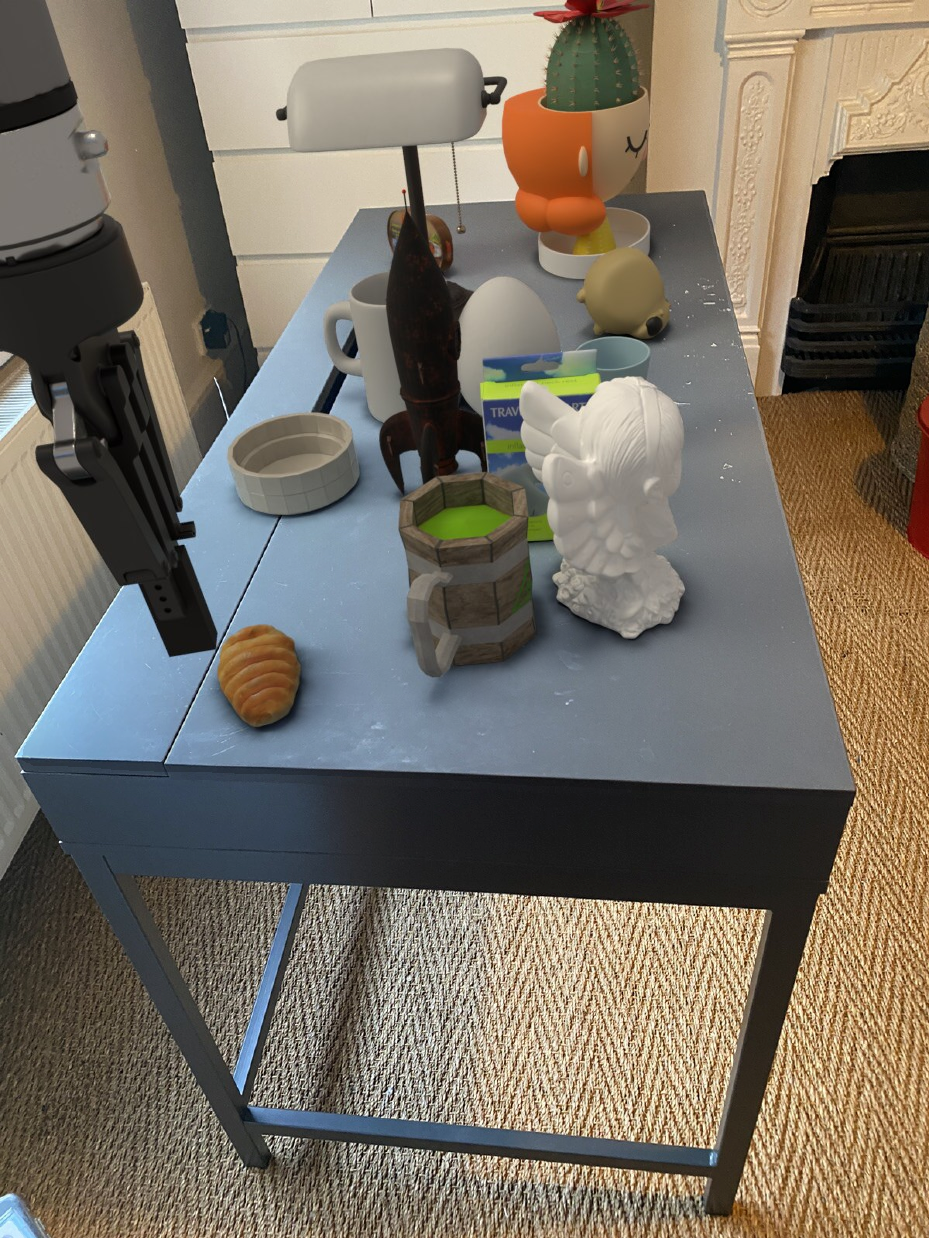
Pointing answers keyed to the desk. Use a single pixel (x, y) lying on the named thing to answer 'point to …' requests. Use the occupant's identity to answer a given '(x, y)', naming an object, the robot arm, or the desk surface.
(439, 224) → the tin
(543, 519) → the box
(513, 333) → the decorative egg
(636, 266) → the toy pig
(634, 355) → the cup
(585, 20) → the potted cactus
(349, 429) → the bowl
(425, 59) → the lamp
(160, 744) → the desk surface
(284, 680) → the pastry
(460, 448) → the toy rocket
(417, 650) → the mug
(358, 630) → the desk surface
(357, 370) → the mug
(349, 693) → the desk surface
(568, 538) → the cherub figurine
